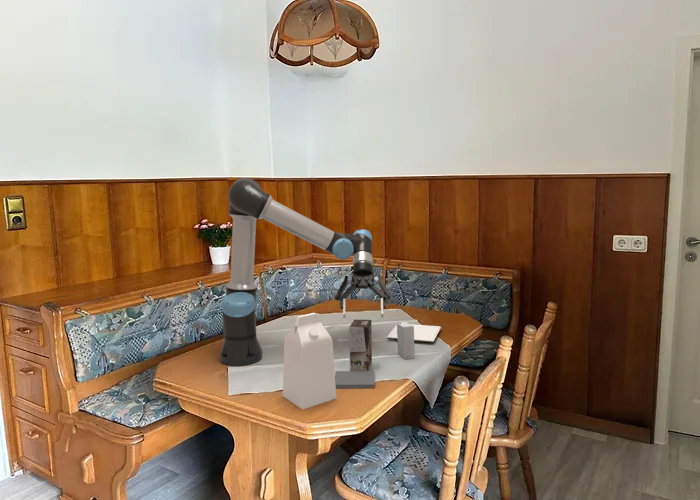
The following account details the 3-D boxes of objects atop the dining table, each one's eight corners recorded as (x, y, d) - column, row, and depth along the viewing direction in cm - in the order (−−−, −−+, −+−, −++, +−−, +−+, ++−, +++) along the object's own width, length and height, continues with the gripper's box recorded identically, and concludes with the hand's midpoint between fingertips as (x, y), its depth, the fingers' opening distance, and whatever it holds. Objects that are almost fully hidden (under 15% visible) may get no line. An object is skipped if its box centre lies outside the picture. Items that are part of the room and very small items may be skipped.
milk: (315, 386, 174) (313, 307, 170) (336, 398, 165) (334, 315, 161) (282, 396, 167) (279, 314, 163) (302, 409, 158) (299, 323, 154)
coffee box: (368, 373, 184) (367, 327, 181) (349, 372, 185) (348, 326, 182) (372, 363, 193) (372, 319, 190) (354, 362, 194) (354, 318, 191)
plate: (386, 341, 216) (386, 336, 215) (397, 327, 233) (397, 322, 233) (433, 345, 210) (433, 340, 210) (441, 331, 227) (441, 326, 227)
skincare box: (415, 358, 197) (415, 325, 195) (403, 359, 196) (403, 327, 193) (407, 352, 203) (407, 321, 201) (396, 354, 201) (396, 322, 199)
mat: (335, 374, 183) (335, 371, 183) (374, 374, 183) (374, 371, 183) (333, 388, 173) (333, 384, 172) (374, 388, 172) (374, 384, 172)
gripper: (395, 271, 210) (397, 320, 198) (330, 272, 211) (329, 321, 199) (396, 260, 204) (398, 310, 192) (329, 261, 205) (327, 311, 193)
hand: (363, 316), depth 195 cm, fingers open, 13 cm apart
